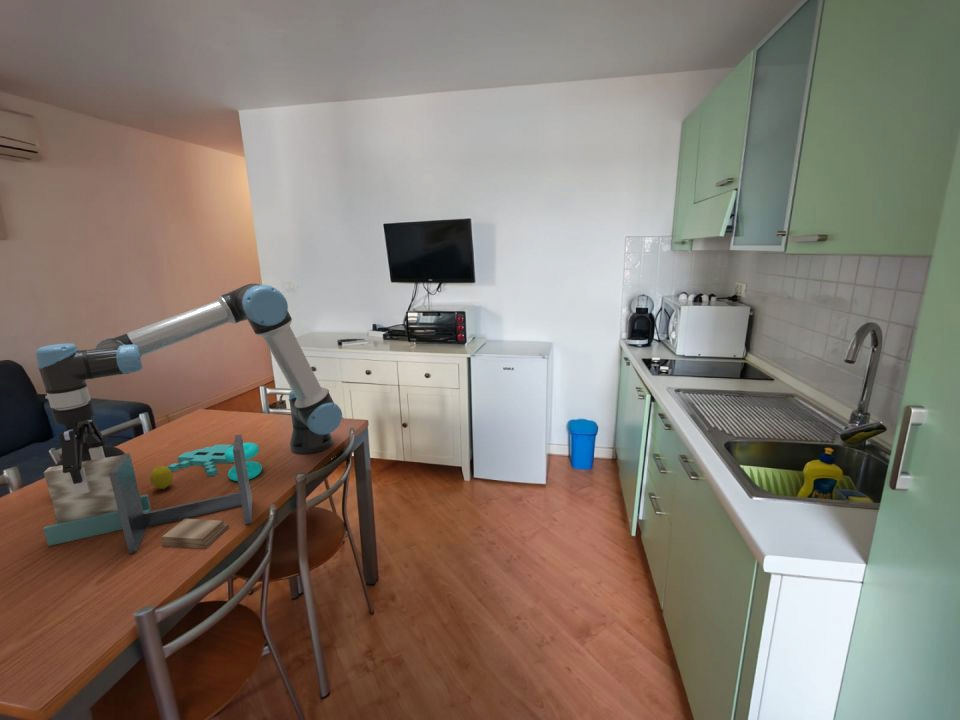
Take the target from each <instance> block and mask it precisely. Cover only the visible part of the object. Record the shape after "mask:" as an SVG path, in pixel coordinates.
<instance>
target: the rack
mask: <svg viewBox="0 0 960 720" xmlns="http://www.w3.org/2000/svg"><path fill="white" fill-rule="evenodd" d="M233 441H234V442H233V446H234V447H233V455H234V461H235V462H234V465H235V467H236V473H237V479H238V481H237V484H238V489H239V491H238V492H234V493H233V492H232V493H229V494H224V495H219V496H215V497H210V498H205V499H201V500H196V501H192V502H187V503H182V504H177V505H173V506H169V507H164V508H159V509H154V510H151V511H150V512H145V513H144V512H143V507H142V503H141V499H140V496H141V495H140V491H139V486H138V482H137V479H136V474H135V470H134V466H133V465H134V464H133V461H132V456H131V453H130V452H129V453H125V454H123V455H122V456H121V457H120V459H119V460H118V461H117V463H116V464H115V466H114V467H113V468H112V470H111V471H110V473H109V476H110V480H111V484H112V488H113V492H114V496H115V500H116V504H117V508H118V512H119V516H120V520H121V524H122V528H123V529H122V530H123V531H122V532H123V535H124V539H125V544H126V547H127V552H128V554H133V553H137V552H138V550H139V547H140V545H141V542H142V540H143V537H144V536H145V534H146V531H147V529H148V528H151V527H155V526H159V525H160V526H161V525H164V524H168V523H172V522H176V521H183V520H184V519H191V518H193V517H194V518H195V517H198V516H203V515H207V514H212V513H216V512H220V511H223V510H224V511H225V510H228V509H233V508H237V507H241V508H242V513H243V520H244V525H245V526H246V525H251V524H252V522H253V521H252V520H253V519H252V518H253V503H254V501H253V495H252V490H251V485H250V479H249V478H248V472H247V465H246V461H247V460H246V459H245V453H244V447H243V443H244V441H243V434H236V435H235V436H234V440H233Z"/></svg>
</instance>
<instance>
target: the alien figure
mask: <svg viewBox="0 0 960 720" xmlns="http://www.w3.org/2000/svg"><path fill="white" fill-rule="evenodd" d="M232 446H234V444H220V443H219V444H214V445H212V446H206V447H204V448H197V449H195V450H193V451H186V452H184V453H182V454H180V455H179V456H177V463H175V462H174V463H171V464H169V465H167V466H165V467H168V468H169V469H170V470H171V472H176V471H179V470H180V469H188V468H189V467H191V466H195V465H196V466H199V467H203V469H204V471H205V473H206V476H207V477H215V475H217V474H218V473H219V471H218V468H216V467H217V466H216V464H228V463H231V464H232V463H233V462H232V461H229V460H227V459H226V458H225V452H226V450H227V449H228V448H230V447H232Z"/></svg>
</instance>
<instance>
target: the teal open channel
mask: <svg viewBox="0 0 960 720" xmlns="http://www.w3.org/2000/svg"><path fill="white" fill-rule="evenodd" d="M140 499H141V503H142V507H143V512H144V513H145V512H150V511H152V507H151V503H150V500H149V499H150V498H149V494H146V493H145V494H141V495H140ZM54 518H55V522H56V523H54V524H51V525H46V526H44V527H43V528H42V529H43V533H44V536H45V539H46V543H47V546H48V547H50V546H54V545H58V544H63V543H68V542H72V541H77V540H82V539H84V538H85V539H86V538H90V537H95V536H99V535H102V534H108V533H112V532H116V531H121V530H123V528H122V524H121V520H120V516H119V512H118V511H115V512H110V513H106V514H101V515H96V516H92V517H87V518H82V519H77V520H73V521H68V522H63V523H59V524H58V521H57V517H56V514H55V513H54Z"/></svg>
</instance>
